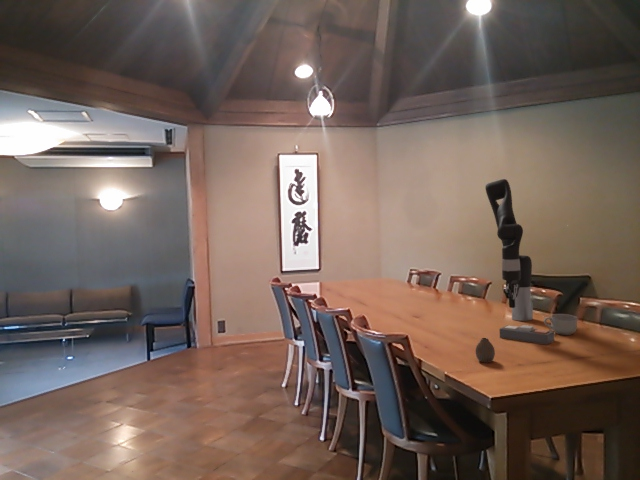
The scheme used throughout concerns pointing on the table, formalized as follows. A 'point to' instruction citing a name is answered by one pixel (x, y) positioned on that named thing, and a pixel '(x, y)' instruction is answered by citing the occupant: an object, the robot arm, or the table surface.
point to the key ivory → (511, 327)
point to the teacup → (562, 323)
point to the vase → (485, 351)
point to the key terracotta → (541, 331)
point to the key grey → (526, 328)
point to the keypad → (527, 336)
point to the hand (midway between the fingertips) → (512, 307)
